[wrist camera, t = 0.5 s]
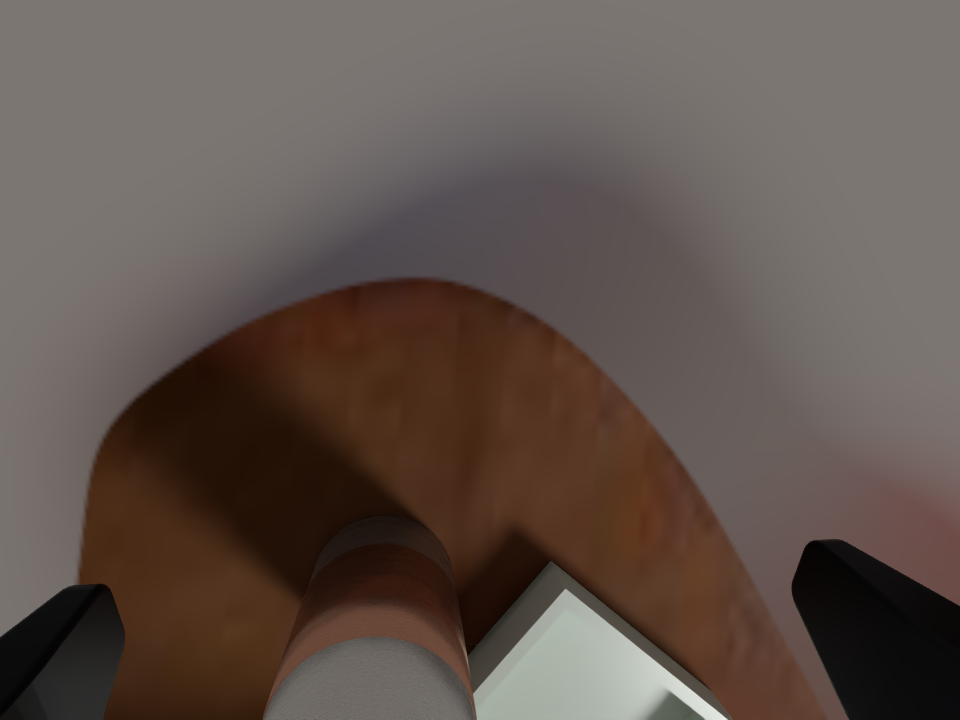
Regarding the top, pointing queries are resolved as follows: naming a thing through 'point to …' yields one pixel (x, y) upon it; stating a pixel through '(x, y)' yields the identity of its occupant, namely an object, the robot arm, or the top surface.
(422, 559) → the tin
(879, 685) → the robot arm
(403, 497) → the top surface
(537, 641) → the pale green square tray
